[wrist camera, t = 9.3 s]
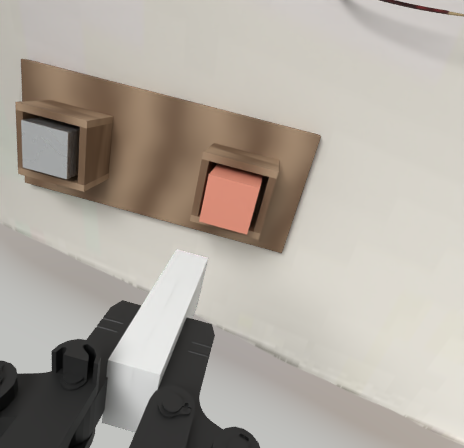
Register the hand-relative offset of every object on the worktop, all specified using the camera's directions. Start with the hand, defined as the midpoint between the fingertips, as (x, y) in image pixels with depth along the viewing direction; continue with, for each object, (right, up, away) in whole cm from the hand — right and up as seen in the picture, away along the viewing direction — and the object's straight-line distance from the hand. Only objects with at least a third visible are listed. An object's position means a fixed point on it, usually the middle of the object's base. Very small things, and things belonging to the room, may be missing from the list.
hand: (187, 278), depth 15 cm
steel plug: (-13, +11, +17) cm, 23 cm away
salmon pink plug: (+3, +6, +15) cm, 16 cm away
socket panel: (-5, +9, +17) cm, 20 cm away
